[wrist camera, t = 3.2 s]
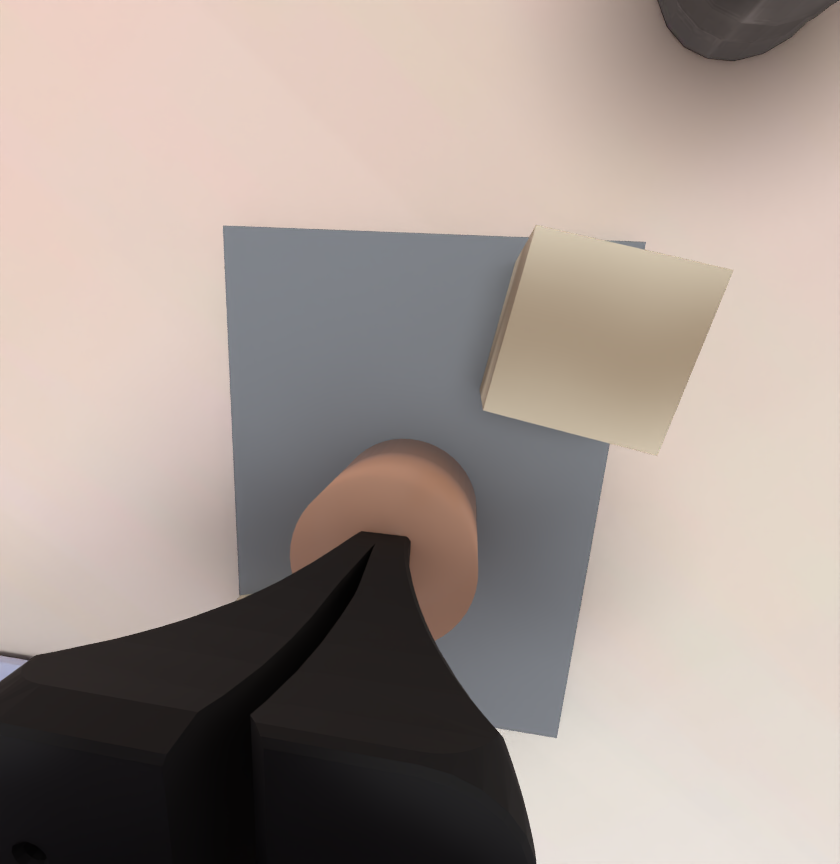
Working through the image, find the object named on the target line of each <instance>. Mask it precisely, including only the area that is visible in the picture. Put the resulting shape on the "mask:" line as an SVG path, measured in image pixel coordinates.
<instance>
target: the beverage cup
mask: <svg viewBox="0 0 840 864" xmlns="http://www.w3.org/2000/svg"><path fill="white" fill-rule="evenodd" d="M837 1H839V0H658V2H659V5H660V8H661V11H662V13H663V16H664V19H665V22H666V24H667V27H668V28H669V29H670V30H671V31H672V33H673V34H674V35H675V36H676V37H677V38H678V40H679V41H680V42H681V43H682V44H683V45H684V47H686V48H688V49H690V50H692V51H694V52H696V53H698V54H700V55H702V56H704V57H706V58H711V59H723V60H734V61H735V60H739V59H743V58H747V57H751V56H755V55H759V54H762V53H765V52H766V51H768V50H770V49H772V48H773V47H775V46H777V45H778V44H780V43H782V42H783V41H785V40H787V39H789V38H790V37H792V36H793V35H794V34H795V33H796V32H797V31H798V30H799V29H800V28H801V27H802V26H803V25H805V24H806V23H807V22H808V21H810V20H811V19H813V18H815V17H816V16H818V15H819V14H820V13H821V12H823V11H824V10H825V9H827V8H828V7H829V6H831V5H832V4H834V3H836V2H837Z"/></svg>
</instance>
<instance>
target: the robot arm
mask: <svg viewBox="0 0 840 864" xmlns="http://www.w3.org/2000/svg"><path fill="white" fill-rule="evenodd" d="M410 547H411V541H410V540H409V538H408V537H406V536H398V535H390V534H382V533H373V532H365V531H361V532H359V533H357V534H355V535H354V536H352V537H351V538H349V539H348V540H346V541H345V542H343V543H342V544H340V545H339V546H337V547H336V548H334V549H333V550H331V551H329V552H328V553H326V554H325V555H323V556H322V557H320V558H318V559H317V560H315V561H314V562H312V563H310V564H309V565H307V566H305V567H303V568H302V569H300V570H298V571H296V572H294V573H293V574H291V575H289V576H287V577H286V578H284V579H282V580H280V581H278V582H276V583H274V584H272V585H270V586H268V587H266V588H264V589H262V590H260V591H258V592H255V593H253V594H251V595H249V596H246V597H244V598H242V599H240V600H237V601H235V602H232V603H229V604H227V605H224V606H221V607H219V608H216V609H213V610H210V611H208V612H205V613H202V614H199V615H197V616H194V617H191V618H188V619H185V620H182V621H179V622H175V623H172V624H169V625H165V626H162V627H159V628H155V629H151V630H148V631H144V632H140V633H137V634H133V635H129V636H125V637H121V638H117V639H113V640H108V641H104V642H99V643H94V644H89V645H85V646H80V647H75V648H71V649H66V650H61V651H56V652H51V653H46V654H40V655H36V656H34V657H33V658H31V659H30V660H23V659H18V658H12V657H6V656H0V864H536V856H535V849H534V843H533V838H532V833H531V829H530V824H529V820H528V816H527V812H526V808H525V804H524V800H523V796H522V793H521V789H520V786H519V783H518V779H517V776H516V773H515V770H514V767H513V764H512V761H511V758H510V755H509V752H508V749H507V746H506V744H505V741H504V738H503V737H502V736H501V734H500V733H499V732H498V731H497V730H496V729H495V727H494V726H493V725H492V724H491V723H490V722H489V720H488V719H487V718H486V717H485V716H484V715H483V713H482V712H481V711H480V710H479V708H478V707H477V706H476V705H475V703H474V702H473V701H472V699H471V698H470V697H469V695H468V694H467V692H466V691H465V690H464V688H463V687H462V685H461V684H460V683H459V681H458V680H457V678H456V677H455V675H454V673H453V672H452V670H451V668H450V667H449V665H448V663H447V662H446V660H445V658H444V657H443V655H442V653H441V652H440V650H439V648H438V646H437V645H436V642H435V640H434V638H433V636H432V634H431V632H430V630H429V628H428V626H427V623H426V621H425V619H424V616H423V614H422V611H421V608H420V606H419V603H418V600H417V596H416V593H415V590H414V586H413V582H412V577H411V572H410V567H409V563H410Z"/></svg>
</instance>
